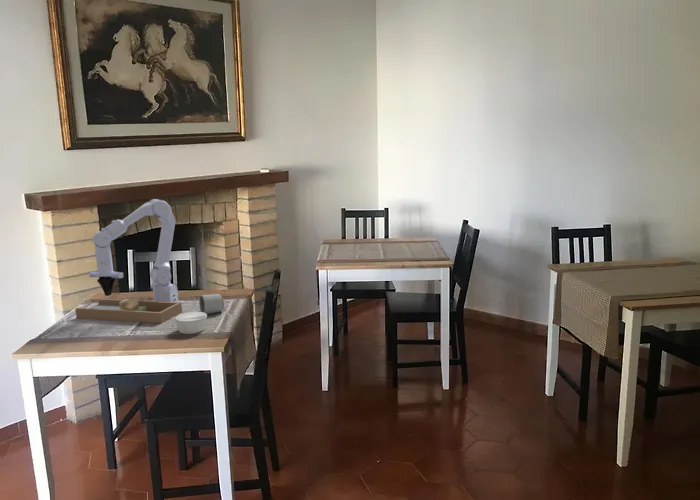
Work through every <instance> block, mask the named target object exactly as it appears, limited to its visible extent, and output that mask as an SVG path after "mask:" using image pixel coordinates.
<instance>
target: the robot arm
mask: <svg viewBox="0 0 700 500" xmlns="http://www.w3.org/2000/svg"><path fill="white" fill-rule="evenodd" d="M145 216H146V217H148V216H150V217H151V216H155V217H156V218H157V219H158V220H159V221H160V222H161V227H160V228H161V229H160V235H159V241H158V247H157V253H156V260H155V261H154V263H153V267H152V269H151V270H150V272H149V276H150V279H151V280H153V281H152V284H151V286H152V295H153V301H160V302H180V299H179V292H178V291H179V290H178V286H177V285H176V284H174V283H171V280H172V274H171V265H170V259H171V252H172V251H171V250H172V247H173V246H172V245H173V240H174V233H175V229H176V228H175V226H176V218H175V215H174V213H173V211H172V206H171V205H170V204H169V203H168V202H167V201H165V200H162V199H157V198H153V199H150V200H149V201H147V202H145V203H142V205H141V206H140V207H138V208H137V209H135V210H134V211H132V212H131V213H130V214H129V215H127V216H126V217H124V218H123V219H116V220H115V219H113V220H112V221H111V222H110V224H108V225H107V226H105V227H102V228H101V229H100V230H101V231H97V232H94V234H93V236H92V238H91V242H93V244H94V253H95V262H96V269H97V271H90V272H88V278H97V280H96V281H97V283H98V284H99V285H100V286H101V289H102V291H103V293H104V296H105V297H106V296H107V297H108V296H111V295H112V292H113V287H114V283H115V281H116V279H123V278H124V272H122V271H121V272H120V271H114V266H113V256H112V250H111V243H112V241H114V240H116V239H117V238H119V237H120V236H121V235H123V234H124V233H126V232H127V230H128V227H129V226H131V225H133V224H134V223H136V222H137V221H139V220H141V219H142V218H144V217H145Z"/></svg>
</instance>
